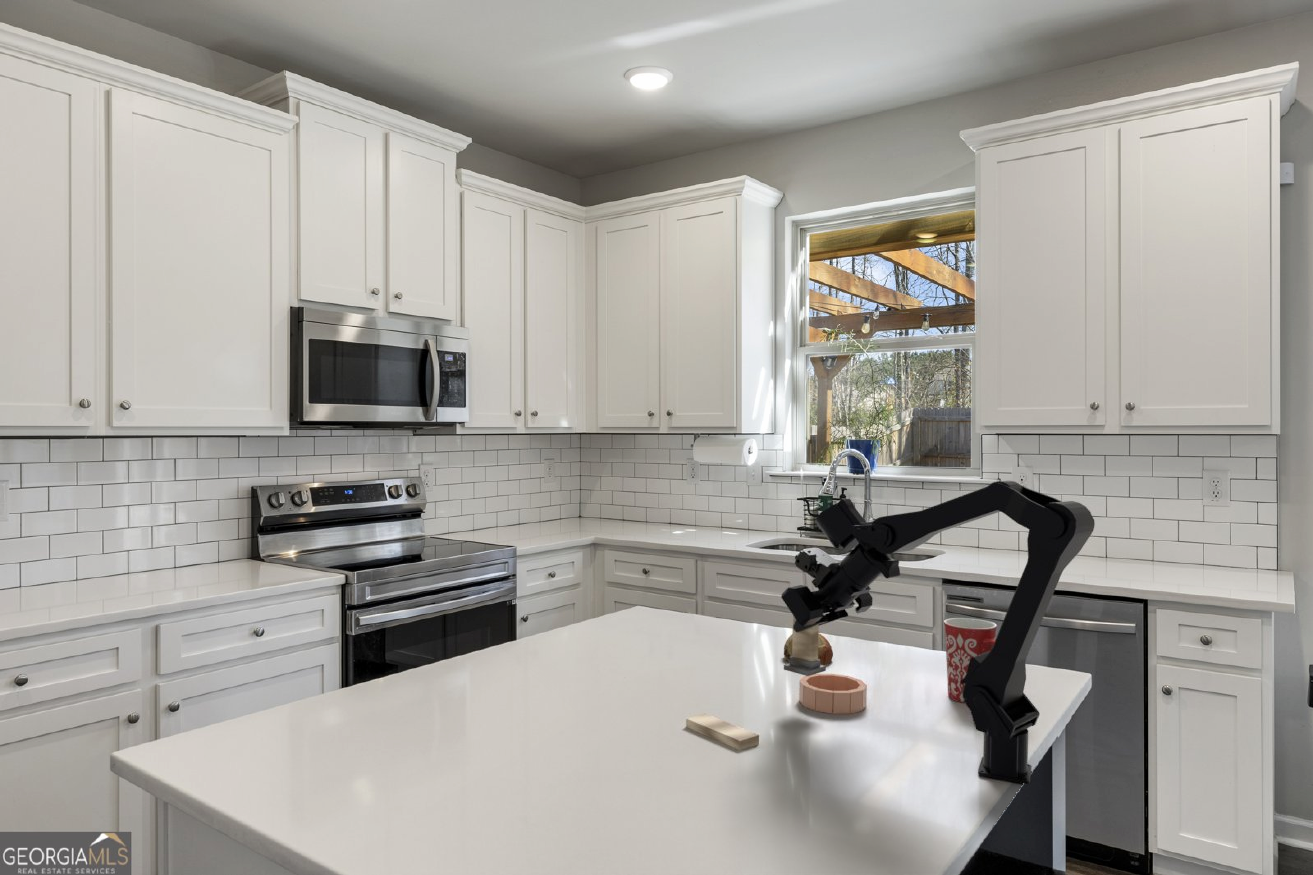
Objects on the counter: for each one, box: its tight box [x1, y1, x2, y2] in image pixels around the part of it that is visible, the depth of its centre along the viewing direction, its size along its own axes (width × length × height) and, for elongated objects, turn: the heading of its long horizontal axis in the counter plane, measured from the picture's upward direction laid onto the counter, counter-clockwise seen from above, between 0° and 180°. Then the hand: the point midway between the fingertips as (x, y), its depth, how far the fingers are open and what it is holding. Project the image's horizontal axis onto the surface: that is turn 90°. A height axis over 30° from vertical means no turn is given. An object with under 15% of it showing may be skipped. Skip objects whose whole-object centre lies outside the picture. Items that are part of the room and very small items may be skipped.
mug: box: [943, 617, 998, 704], centre depth 149 cm, size 13×9×14 cm
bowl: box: [798, 673, 868, 715], centre depth 146 cm, size 11×11×4 cm
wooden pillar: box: [783, 615, 827, 676], centre depth 142 cm, size 5×5×13 cm
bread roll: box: [783, 633, 834, 666], centre depth 174 cm, size 10×10×8 cm
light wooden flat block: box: [685, 713, 760, 751], centre depth 129 cm, size 12×4×2 cm, turn 39°
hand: (798, 628), depth 143 cm, fingers closed on wooden pillar
